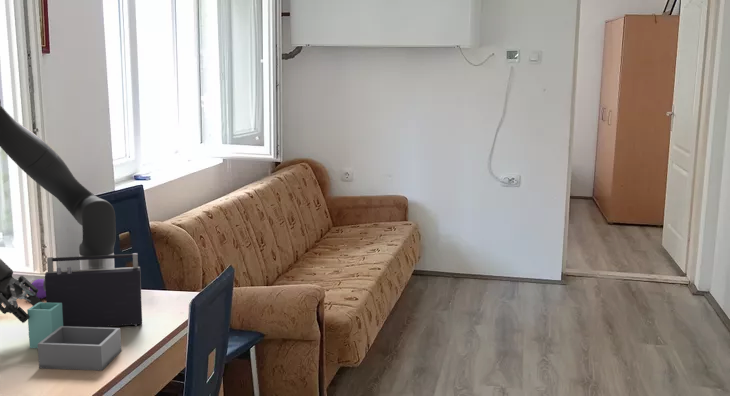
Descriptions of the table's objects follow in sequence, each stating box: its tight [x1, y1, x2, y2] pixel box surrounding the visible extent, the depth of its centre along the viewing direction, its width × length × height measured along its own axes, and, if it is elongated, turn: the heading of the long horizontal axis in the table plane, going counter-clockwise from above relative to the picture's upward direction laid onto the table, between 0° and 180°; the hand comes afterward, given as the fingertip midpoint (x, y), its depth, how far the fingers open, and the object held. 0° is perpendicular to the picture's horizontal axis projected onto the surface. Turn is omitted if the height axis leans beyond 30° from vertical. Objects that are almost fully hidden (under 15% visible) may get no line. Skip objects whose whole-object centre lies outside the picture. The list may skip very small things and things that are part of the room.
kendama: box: [29, 278, 46, 300], centre depth 225 cm, size 6×6×20 cm
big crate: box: [37, 326, 122, 371], centre depth 177 cm, size 15×12×6 cm
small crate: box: [26, 301, 63, 349], centre depth 186 cm, size 6×6×10 cm
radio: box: [43, 252, 143, 328], centre depth 198 cm, size 24×5×20 cm, turn 106°
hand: (35, 314), depth 185 cm, fingers open, 8 cm apart
